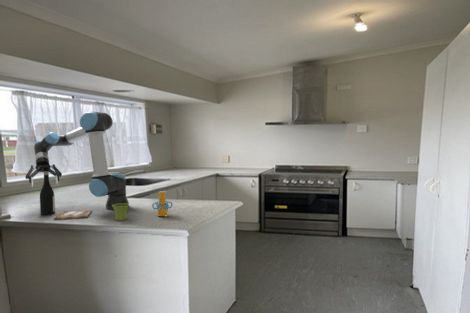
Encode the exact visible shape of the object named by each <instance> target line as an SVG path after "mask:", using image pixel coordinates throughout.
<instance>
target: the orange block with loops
mask: <svg viewBox="0 0 470 313" xmlns="http://www.w3.org/2000/svg"><path fill="white" fill-rule="evenodd" d="M166 198H167V197H166V191H165V190H160V191H158V201H155V202H153V203H152V205H151V207H152V208H153V210H157V217H159V216H165V215H167V216H168V215H169V214H168V213H169V212H168V211H169V209H171V208H173V202H172V201H168V200H167V199H166ZM169 204H170V206H169ZM154 205H155V206H156V207H155V206H154ZM165 217H166V216H165Z"/></svg>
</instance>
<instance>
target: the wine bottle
mask: <svg viewBox="0 0 470 313" xmlns="http://www.w3.org/2000/svg"><path fill="white" fill-rule="evenodd" d="M43 170H44V172H43V184H42V187H41V190H40V191H39V192H40V193H39V205H40V206H39V208H40V209H39V210H40V211H39V212H40V214H41V215H43V216H49V215H53V214H55V212H56V203H55V202H56V199H55V192H54V189H53V187H52V185H51V183H50V177H49V176H50V173H49V167H43Z"/></svg>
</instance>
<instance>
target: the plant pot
mask: <svg viewBox="0 0 470 313" xmlns="http://www.w3.org/2000/svg"><path fill="white" fill-rule="evenodd" d="M128 206H129V207H130V203H129V204H126V203H120V204H114V205H112V207H113V209H114V210H113V212H114V213H113V214H114V219H115V221H125V220H127V218H128V217H127V215H128V211H129V210H128V209H129V207H128Z"/></svg>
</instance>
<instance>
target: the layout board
mask: <svg viewBox="0 0 470 313" xmlns="http://www.w3.org/2000/svg"><path fill="white" fill-rule="evenodd" d="M92 211H93V210H92V209H85V210H70V211H68V210H67V211H60V212H59V213H58V214H57V215H56V216H54V217H53V221H62V220H74V219H75V220H77V219H87V218H89V216H90V215H91V213H92Z"/></svg>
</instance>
